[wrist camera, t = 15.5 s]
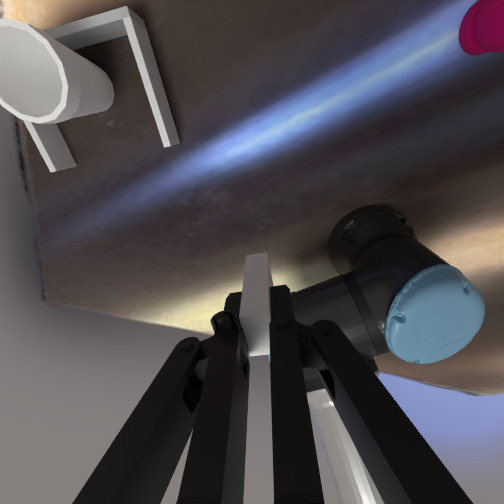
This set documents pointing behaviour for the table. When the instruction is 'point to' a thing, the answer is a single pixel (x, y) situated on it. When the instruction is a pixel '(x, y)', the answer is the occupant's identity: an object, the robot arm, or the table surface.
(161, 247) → the table surface
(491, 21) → the pepper mill
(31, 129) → the box
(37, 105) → the foam cup
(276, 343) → the robot arm
